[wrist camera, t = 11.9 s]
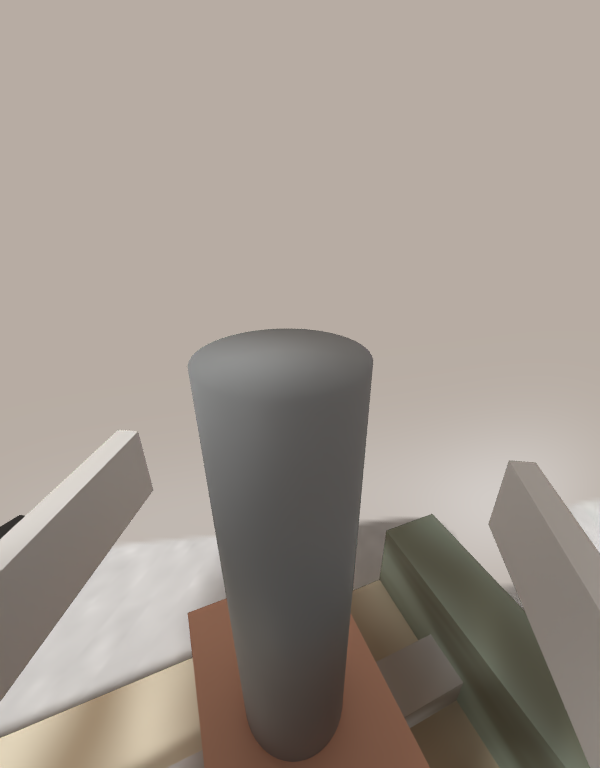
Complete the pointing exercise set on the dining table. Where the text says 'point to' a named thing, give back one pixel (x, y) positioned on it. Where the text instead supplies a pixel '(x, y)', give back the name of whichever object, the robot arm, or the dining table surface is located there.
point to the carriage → (288, 559)
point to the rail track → (396, 662)
